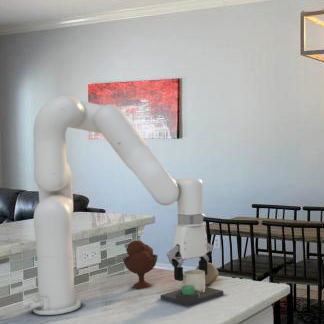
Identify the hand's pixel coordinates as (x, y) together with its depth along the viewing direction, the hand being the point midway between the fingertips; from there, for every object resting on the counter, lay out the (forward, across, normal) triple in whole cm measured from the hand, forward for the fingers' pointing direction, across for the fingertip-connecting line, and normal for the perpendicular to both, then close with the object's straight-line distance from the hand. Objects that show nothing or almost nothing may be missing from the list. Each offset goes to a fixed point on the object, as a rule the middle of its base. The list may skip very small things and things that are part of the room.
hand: (191, 277), depth 161 cm
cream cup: (+4, -1, 0) cm, 4 cm away
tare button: (+3, +6, +5) cm, 9 cm away
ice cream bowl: (+6, +2, -21) cm, 22 cm away
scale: (+6, +1, +2) cm, 6 cm away
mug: (+6, -14, -7) cm, 16 cm away
